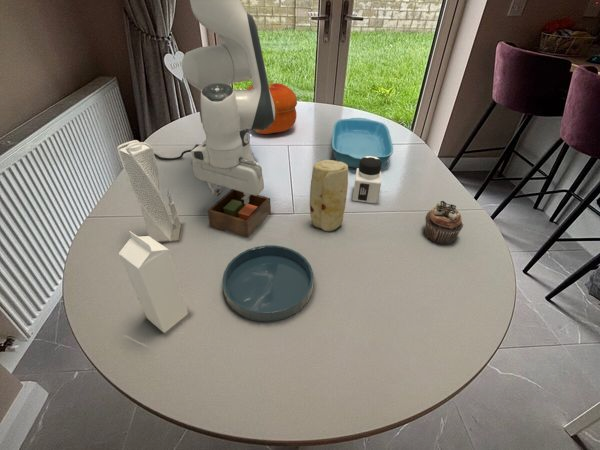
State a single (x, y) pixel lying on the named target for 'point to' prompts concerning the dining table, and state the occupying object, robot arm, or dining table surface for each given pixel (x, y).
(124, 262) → the milk
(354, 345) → the dining table surface
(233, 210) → the green cube
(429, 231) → the cupcake
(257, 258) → the bowl
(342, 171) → the food model
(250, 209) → the orange block
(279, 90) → the pumpkin
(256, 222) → the holder
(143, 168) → the skyscraper
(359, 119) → the casserole dish
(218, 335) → the dining table surface
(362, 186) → the container
